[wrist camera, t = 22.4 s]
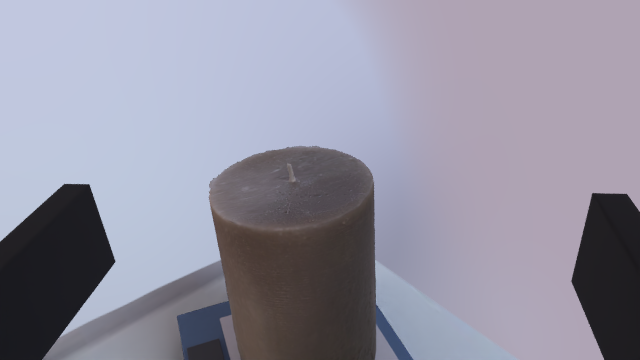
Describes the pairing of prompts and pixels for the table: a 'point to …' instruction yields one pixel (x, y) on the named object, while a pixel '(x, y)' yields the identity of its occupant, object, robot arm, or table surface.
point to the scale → (221, 346)
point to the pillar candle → (298, 254)
